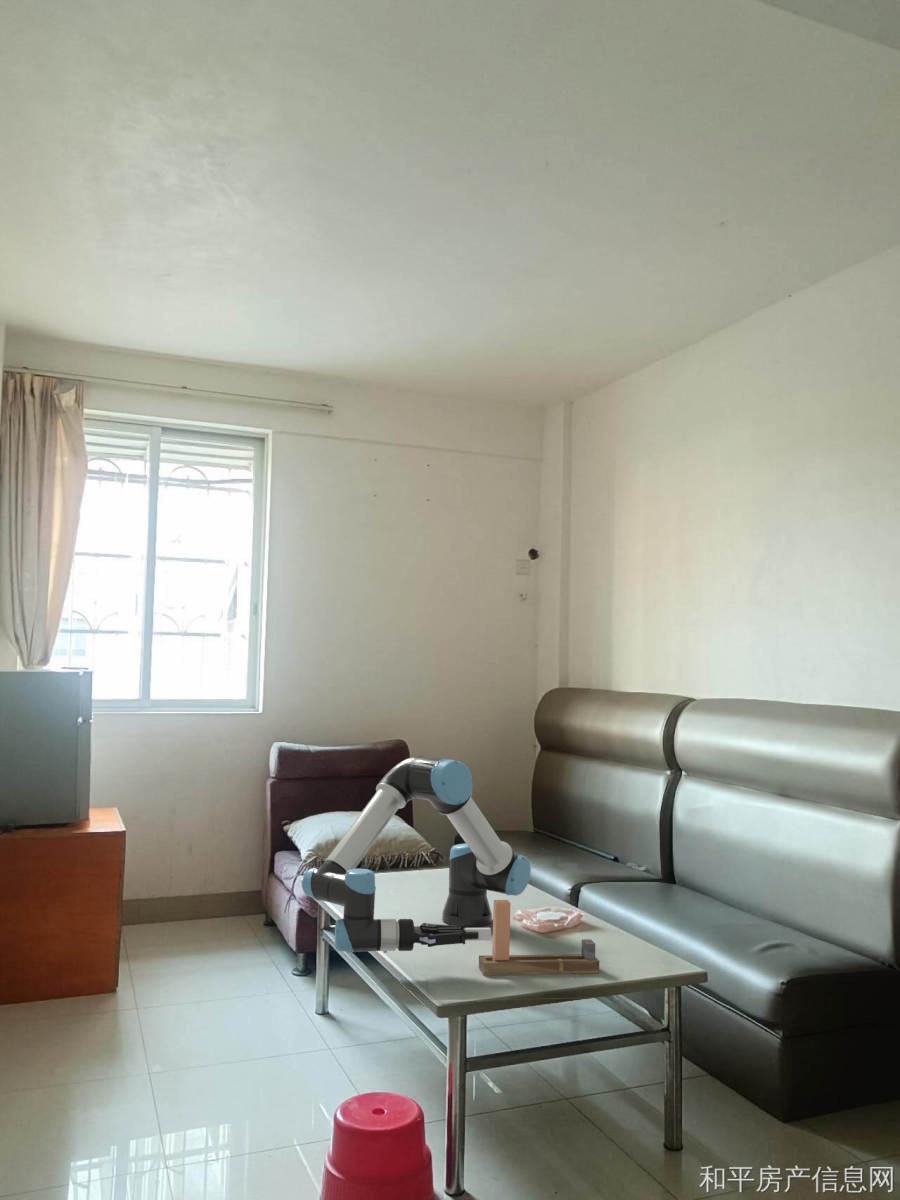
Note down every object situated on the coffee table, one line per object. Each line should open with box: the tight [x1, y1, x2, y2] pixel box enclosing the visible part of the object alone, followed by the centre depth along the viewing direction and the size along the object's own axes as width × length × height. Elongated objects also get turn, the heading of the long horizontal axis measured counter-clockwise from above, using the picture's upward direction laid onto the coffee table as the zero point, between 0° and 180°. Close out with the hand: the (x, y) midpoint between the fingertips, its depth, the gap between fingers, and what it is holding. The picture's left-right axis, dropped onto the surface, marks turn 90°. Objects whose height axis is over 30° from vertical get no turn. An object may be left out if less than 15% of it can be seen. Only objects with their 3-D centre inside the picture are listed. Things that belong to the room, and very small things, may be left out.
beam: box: [478, 938, 600, 976], centre depth 236 cm, size 6×30×7 cm, turn 99°
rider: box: [491, 899, 511, 961], centre depth 235 cm, size 4×4×16 cm
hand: (490, 933), depth 234 cm, fingers closed
